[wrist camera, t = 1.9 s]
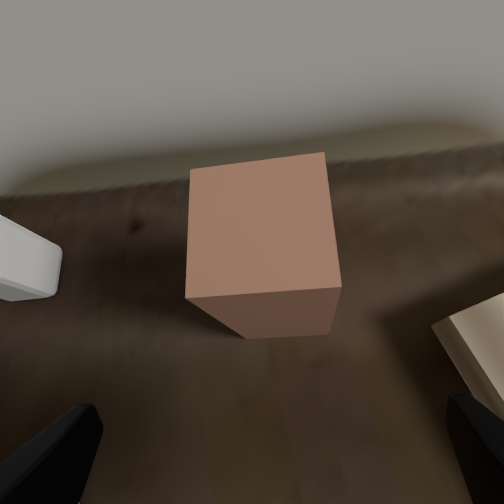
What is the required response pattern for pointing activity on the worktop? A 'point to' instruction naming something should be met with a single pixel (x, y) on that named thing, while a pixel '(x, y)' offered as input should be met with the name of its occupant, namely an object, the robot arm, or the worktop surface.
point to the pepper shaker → (27, 263)
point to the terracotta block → (264, 246)
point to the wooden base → (478, 349)
